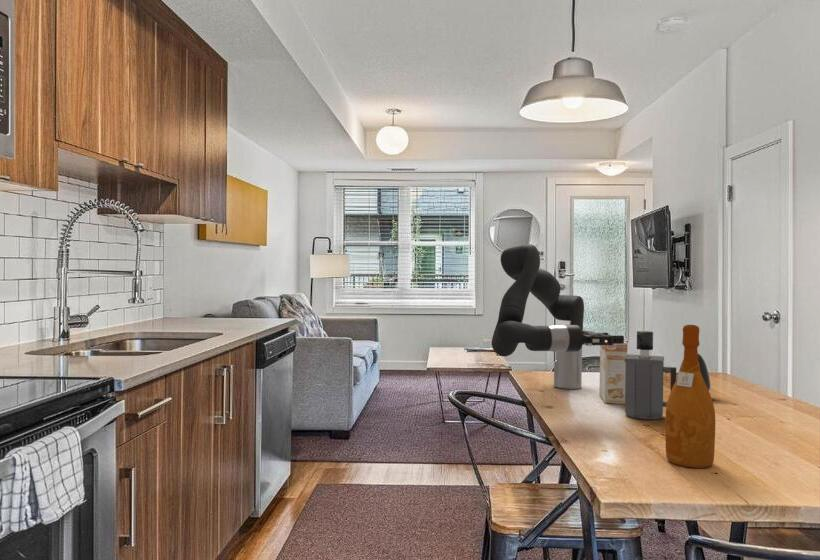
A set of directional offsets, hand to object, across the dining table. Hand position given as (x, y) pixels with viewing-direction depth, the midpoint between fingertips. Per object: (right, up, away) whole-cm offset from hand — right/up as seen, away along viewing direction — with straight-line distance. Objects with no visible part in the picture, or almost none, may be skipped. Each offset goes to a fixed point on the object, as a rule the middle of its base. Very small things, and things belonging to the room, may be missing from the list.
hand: (615, 337), depth 172 cm
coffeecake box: (+8, -23, +26) cm, 35 cm away
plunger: (+9, -21, +2) cm, 23 cm away
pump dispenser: (+36, -23, +29) cm, 52 cm away
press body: (+10, -23, +1) cm, 25 cm away
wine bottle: (+2, -23, -41) cm, 47 cm away
